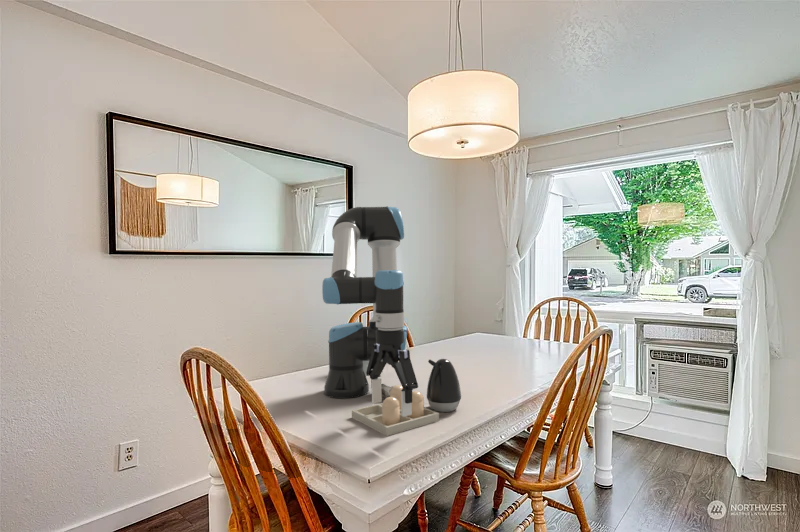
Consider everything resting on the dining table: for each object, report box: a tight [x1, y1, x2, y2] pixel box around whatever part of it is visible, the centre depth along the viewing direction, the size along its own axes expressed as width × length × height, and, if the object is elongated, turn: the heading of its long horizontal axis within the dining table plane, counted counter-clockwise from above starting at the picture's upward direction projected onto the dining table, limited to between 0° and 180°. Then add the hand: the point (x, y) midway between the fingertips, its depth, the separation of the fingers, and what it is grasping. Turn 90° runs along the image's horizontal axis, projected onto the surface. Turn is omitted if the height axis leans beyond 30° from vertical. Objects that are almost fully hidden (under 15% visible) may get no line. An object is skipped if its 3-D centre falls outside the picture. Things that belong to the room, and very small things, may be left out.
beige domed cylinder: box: [390, 384, 403, 410], centre depth 129 cm, size 5×5×8 cm
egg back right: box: [408, 390, 425, 419], centre depth 123 cm, size 5×5×8 cm
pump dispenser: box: [426, 358, 462, 413], centre depth 132 cm, size 10×10×15 cm
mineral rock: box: [381, 383, 393, 401], centre depth 144 cm, size 15×8×4 cm, turn 30°
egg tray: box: [351, 402, 440, 437], centre depth 124 cm, size 17×17×2 cm
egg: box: [382, 397, 400, 426], centre depth 118 cm, size 5×5×8 cm
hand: (391, 408), depth 118 cm, fingers open, 13 cm apart
